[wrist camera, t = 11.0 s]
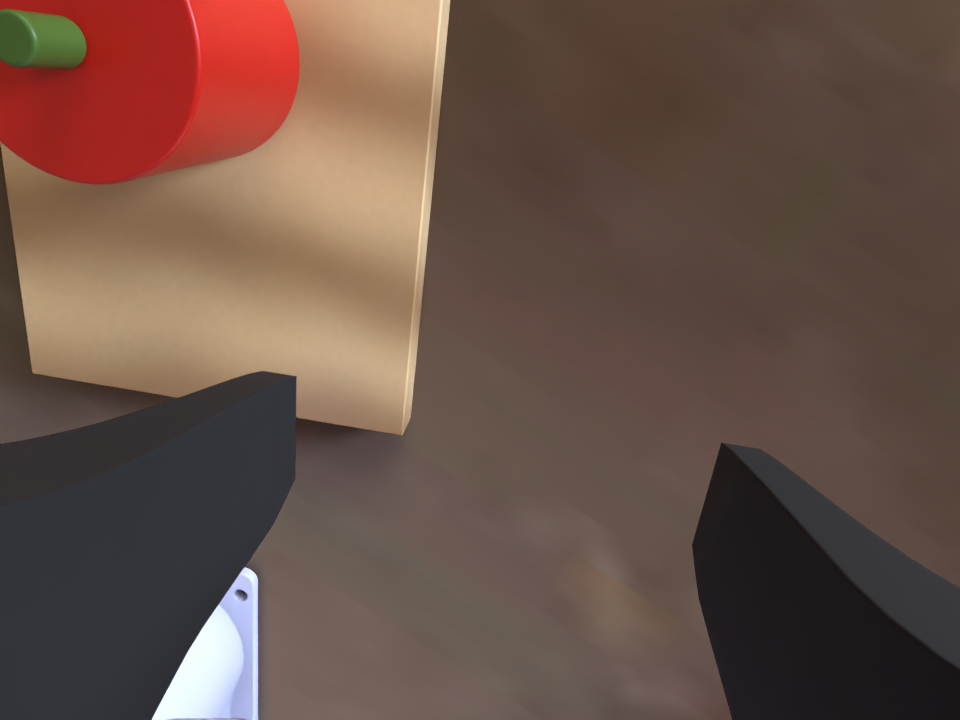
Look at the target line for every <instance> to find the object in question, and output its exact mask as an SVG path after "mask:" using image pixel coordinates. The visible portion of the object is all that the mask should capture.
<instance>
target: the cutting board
mask: <svg viewBox="0 0 960 720" xmlns="http://www.w3.org/2000/svg"><path fill="white" fill-rule="evenodd" d="M283 1H284V2H285V4H286V6H287V8H288V11H289V13H290V16H291V19H292V21H293V25H294V28H295V32H296V36H297V41H298V48H299V62H300V68H299V81H298V86H297V91H296V95H295V98H294V101H293V104H292V107H291V109H290V111H289V113H288V115H287V117H286V119H285V120H284V122H283V123H282V125H281V126H280V127H279V129H278V130H277V131H276V132H275V133H274V134H273V135H272V137H271V138H270V139H268V140H267V141H266V142H264V143H263V144H262V145H261V146H259V147H257V148H256V149H254V150H252V151H250V152H248V153H245V154H242V155H240V156H236V157H232V158H227V159H223V160H218V161H214V162H210V163H205V164H201V165H197V166H192V167H188V168H183V169H179V170H175V171H170V172H166V173H162V174H157V175H153V176H148V177H144V178H140V179H135V180H131V181H126V182H122V183H117V184H108V185H91V184H81V183H77V182H72V181H68V180H65V179H62V178H59V177H56V176H53V175H51V174H48V173H46V172H44V171H42V170H40V169H38V168H36V167H34V166H32V165H31V164H29V163H28V162H26V161H24V160H23V159H21V158H20V157H18V156H17V155H16V154H14V153H13V152H12V151H11V150H9V149H8V148H7V147H6V146H4V145H3V144H2V143H1V142H0V145H1V152H2V160H3V167H4V174H5V181H6V188H7V195H8V202H9V210H10V217H11V224H12V231H13V238H14V245H15V252H16V259H17V267H18V274H19V281H20V288H21V295H22V302H23V309H24V317H25V324H26V331H27V338H28V345H29V352H30V359H31V367H32V372H33V373H34V374H40V375H46V376H51V377H57V378H63V379H69V380H75V381H81V382H87V383H93V384H99V385H105V386H111V387H117V388H123V389H129V390H135V391H140V392H146V393H152V394H158V395H164V396H170V397H176V398H179V397H182V396H185V395H188V394H190V393H193V392H196V391H199V390H202V389H205V388H207V387H210V386H213V385H216V384H219V383H222V382H224V381H227V380H230V379H233V378H236V377H239V376H243V375H246V374H250V373H254V372H259V371H267V372H273V373H279V374H286V375H292V376H297V384H296V418H301V419H307V420H313V421H319V422H325V423H330V424H336V425H342V426H348V427H354V428H360V429H366V430H372V431H378V432H384V433H390V434H396V435H403V433H404V431H405V429H406V427H407V424H408V422H409V420H410V418H411V408H412V397H413V387H414V376H415V366H416V355H417V345H418V334H419V324H420V313H421V303H422V292H423V282H424V271H425V261H426V250H427V240H428V229H429V219H430V208H431V198H432V187H433V177H434V166H435V156H436V145H437V135H438V124H439V114H440V103H441V93H442V82H443V72H444V61H445V51H446V40H447V30H448V19H449V9H450V0H283Z"/></svg>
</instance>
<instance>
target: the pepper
mask: <svg viewBox="0 0 960 720" xmlns="http://www.w3.org/2000/svg"><path fill="white" fill-rule="evenodd" d="M299 68H300V62H299V48H298V41H297V36H296V32H295V28H294V25H293V21H292V19H291V16H290V13H289V11H288V8H287V6H286V4H285V2H284V1H283V0H0V142H1V143H2V144H3V145H4V146H6V147H7V148H8V149H9V150H11V151H12V152H13V153H14V154H16V155H17V156H18V157H20V158H21V159H23V160H24V161H26V162H28V163H29V164H31V165H32V166H34V167H36V168H38V169H40V170H42V171H44V172H46V173H48V174H51V175H53V176H56V177H59V178H62V179H65V180H68V181H72V182H77V183H81V184H91V185H108V184H117V183H122V182H126V181H131V180H135V179H140V178H144V177H148V176H153V175H157V174H162V173H166V172H170V171H175V170H179V169H183V168H188V167H192V166H197V165H201V164H205V163H210V162H214V161H218V160H223V159H227V158H232V157H236V156H240V155H242V154H245V153H248V152H250V151H252V150H254V149H256V148H257V147H259V146H261V145H262V144H263V143H264V142H266V141H267V140H268V139H270V138H271V137H272V135H273V134H274V133H275V132H276V131H277V130H278V129H279V127H280V126H281V125H282V123H283V122H284V120H285V119H286V117H287V115H288V113H289V111H290V109H291V107H292V104H293V101H294V98H295V95H296V91H297V86H298V81H299Z"/></svg>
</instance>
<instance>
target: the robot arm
mask: <svg viewBox="0 0 960 720" xmlns="http://www.w3.org/2000/svg"><path fill="white" fill-rule="evenodd" d="M296 384H297V376H292V375H286V374H279V373H273V372H267V371H259V372H254V373H250V374H246V375H243V376H239V377H236V378H233V379H230V380H227V381H224V382H222V383H219V384H216V385H213V386H210V387H207V388H205V389H202V390H199V391H196V392H193V393H190V394H188V395H185V396H182V397H179V398H176V399H173V400H171V401H168V402H165V403H162V404H158V405H155V406H152V407H149V408H146V409H143V410H139V411H136V412H133V413H130V414H127V415H123V416H120V417H117V418H114V419H111V420H107V421H104V422H100V423H97V424H93V425H89V426H85V427H81V428H77V429H73V430H69V431H65V432H60V433H56V434H51V435H47V436H43V437H38V438H33V439H28V440H23V441H17V442H11V443H5V444H0V720H258V579H257V576H256V574H255V573H254V572H253V571H252V570H250V569H248V568H245V566H246V564H247V563H248V561H249V560H250V558H251V557H252V555H253V554H254V552H255V551H256V549H257V548H258V546H259V545H260V543H261V542H262V540H263V539H264V537H265V536H266V534H267V533H268V531H269V530H270V528H271V527H272V525H273V524H274V522H275V520H276V518H277V516H278V514H279V512H280V510H281V508H282V506H283V504H284V502H285V499H286V497H287V495H288V493H289V491H290V489H291V486H292V484H293V482H294V480H295V458H296ZM692 547H693V556H694V565H695V574H696V581H697V589H698V596H699V601H700V604H701V608H702V612H703V616H704V620H705V623H706V627H707V631H708V634H709V638H710V642H711V645H712V649H713V652H714V656H715V659H716V663H717V667H718V670H719V674H720V677H721V681H722V684H723V688H724V691H725V695H726V699H727V702H728V706H729V709H730V713H731V716H732V720H960V588H959V587H957V586H955V585H954V584H952V583H950V582H949V581H947V580H945V579H944V578H942V577H940V576H938V575H937V574H935V573H933V572H932V571H930V570H929V569H927V568H925V567H924V566H922V565H921V564H919V563H918V562H916V561H914V560H913V559H911V558H910V557H908V556H907V555H905V554H904V553H902V552H901V551H899V550H898V549H897V548H895V547H894V546H892V545H891V544H889V543H888V542H886V541H885V540H883V539H882V538H881V537H879V536H878V535H876V534H875V533H873V532H872V531H870V530H869V529H868V528H866V527H865V526H864V525H862V524H861V523H859V522H858V521H857V520H855V519H854V518H853V517H851V516H850V515H849V514H847V513H846V512H845V511H843V510H842V509H841V508H839V507H838V506H837V505H835V504H834V503H833V502H831V501H830V500H829V499H827V498H826V497H825V496H824V495H822V494H821V493H820V492H818V491H817V490H816V489H815V488H813V487H812V486H811V485H809V484H808V483H807V482H806V481H804V480H803V479H802V478H800V477H799V476H798V475H796V474H795V473H794V472H793V471H791V470H790V469H789V468H787V467H786V466H785V465H783V464H782V463H780V462H779V461H778V460H776V459H775V458H773V457H772V456H770V455H769V454H767V453H766V452H764V451H762V450H761V449H757V448H751V447H745V446H738V445H732V444H725V443H721V446H720V450H719V453H718V457H717V460H716V464H715V467H714V471H713V474H712V478H711V481H710V485H709V488H708V491H707V495H706V498H705V502H704V505H703V509H702V512H701V516H700V519H699V523H698V526H697V530H696V533H695V537H694V540H693V544H692ZM240 590H243V591H244V592H245V593H246V594H245V593H242V592H241V591H240Z"/></svg>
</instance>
